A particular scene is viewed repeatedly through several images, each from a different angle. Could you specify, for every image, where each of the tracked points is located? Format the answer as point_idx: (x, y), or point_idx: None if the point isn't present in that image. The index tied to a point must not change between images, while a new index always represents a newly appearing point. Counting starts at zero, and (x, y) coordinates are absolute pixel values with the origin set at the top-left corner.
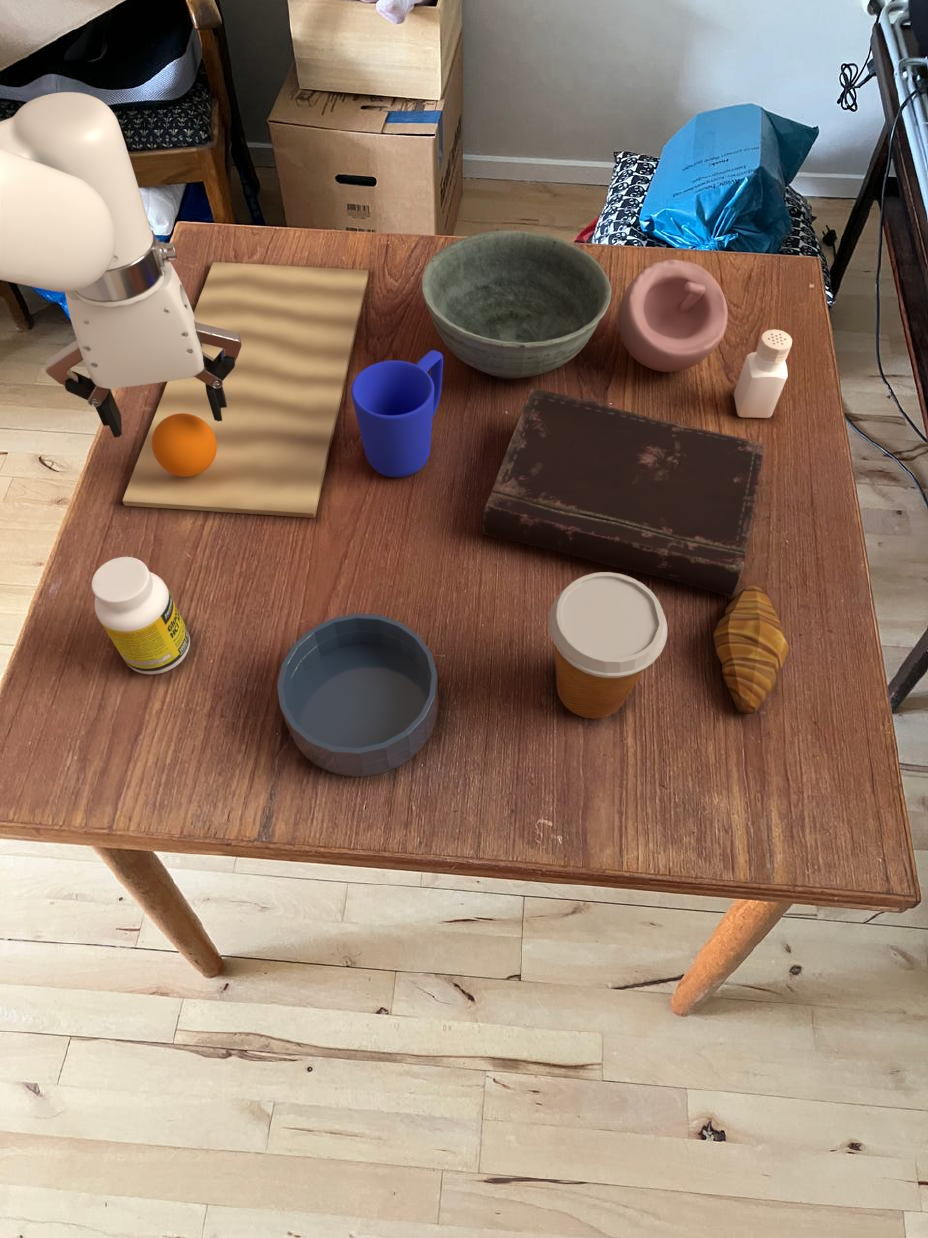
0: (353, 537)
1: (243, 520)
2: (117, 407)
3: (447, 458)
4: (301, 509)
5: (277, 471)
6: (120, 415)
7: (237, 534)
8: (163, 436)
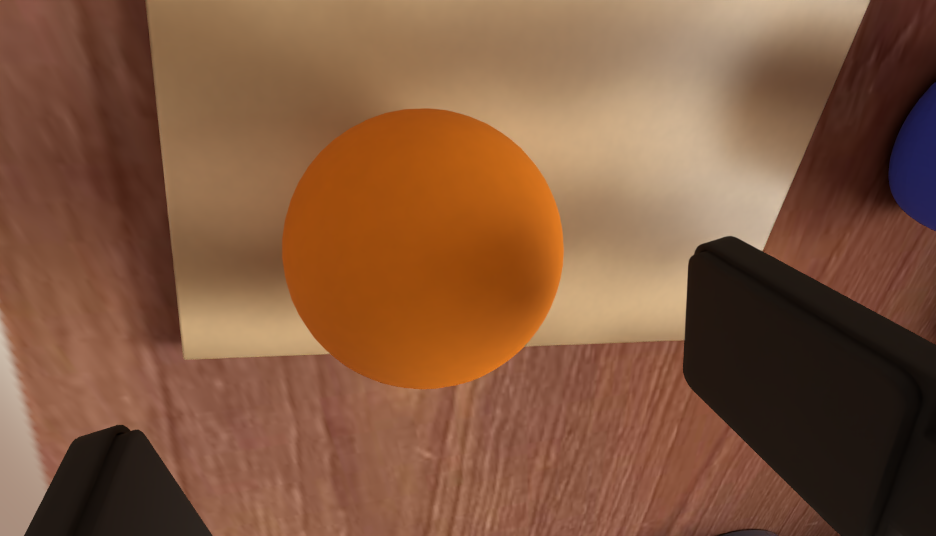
0: None
1: (553, 351)
2: (117, 498)
3: None
4: None
5: (668, 214)
6: (138, 442)
7: (538, 389)
8: (391, 372)
